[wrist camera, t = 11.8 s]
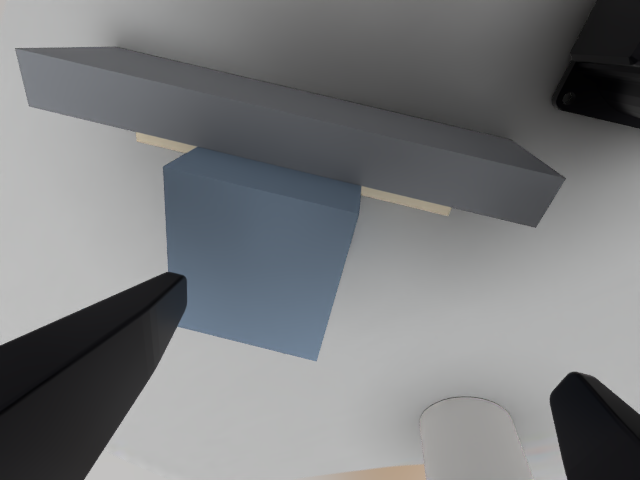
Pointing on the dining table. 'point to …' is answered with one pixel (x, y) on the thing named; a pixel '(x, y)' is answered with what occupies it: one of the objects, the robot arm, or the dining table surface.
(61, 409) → the robot arm
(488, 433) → the cylindrical container
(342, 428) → the dining table surface
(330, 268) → the blue block
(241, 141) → the wall board
